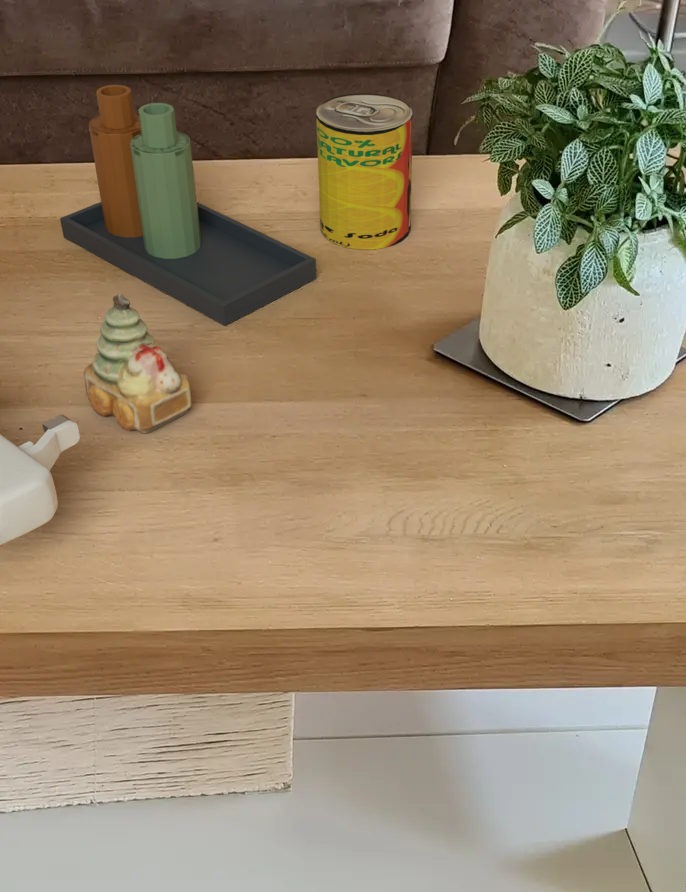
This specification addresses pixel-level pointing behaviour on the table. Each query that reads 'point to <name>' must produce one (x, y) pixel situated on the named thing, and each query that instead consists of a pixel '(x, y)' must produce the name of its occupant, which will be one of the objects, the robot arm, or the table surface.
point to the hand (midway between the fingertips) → (32, 399)
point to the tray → (203, 263)
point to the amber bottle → (116, 159)
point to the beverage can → (364, 170)
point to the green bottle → (165, 184)
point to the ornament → (134, 374)
